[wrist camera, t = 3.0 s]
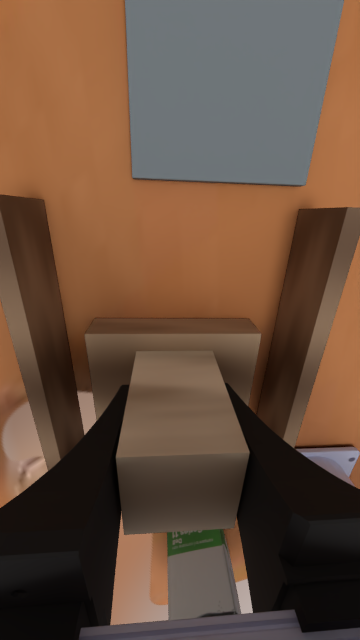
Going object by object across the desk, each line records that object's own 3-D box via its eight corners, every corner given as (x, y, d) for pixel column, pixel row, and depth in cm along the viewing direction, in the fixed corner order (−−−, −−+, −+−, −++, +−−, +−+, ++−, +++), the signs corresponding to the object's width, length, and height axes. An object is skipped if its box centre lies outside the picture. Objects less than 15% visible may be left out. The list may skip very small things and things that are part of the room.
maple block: (206, 408, 14) (233, 528, 9) (139, 410, 14) (124, 534, 9) (212, 350, 13) (249, 452, 7) (136, 351, 13) (115, 457, 7)
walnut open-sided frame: (262, 438, 19) (282, 484, 15) (74, 444, 18) (55, 495, 14) (314, 209, 12) (368, 208, 9) (25, 199, 11) (-29, 192, 8)
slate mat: (299, 186, 12) (305, 185, 11) (133, 179, 11) (132, 177, 11) (351, -70, 9) (362, -86, 8) (122, -99, 8) (120, -118, 8)
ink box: (164, 515, 22) (166, 813, 11) (218, 504, 22) (273, 795, 11) (183, 562, 25) (199, 823, 14) (230, 553, 25) (281, 809, 14)
